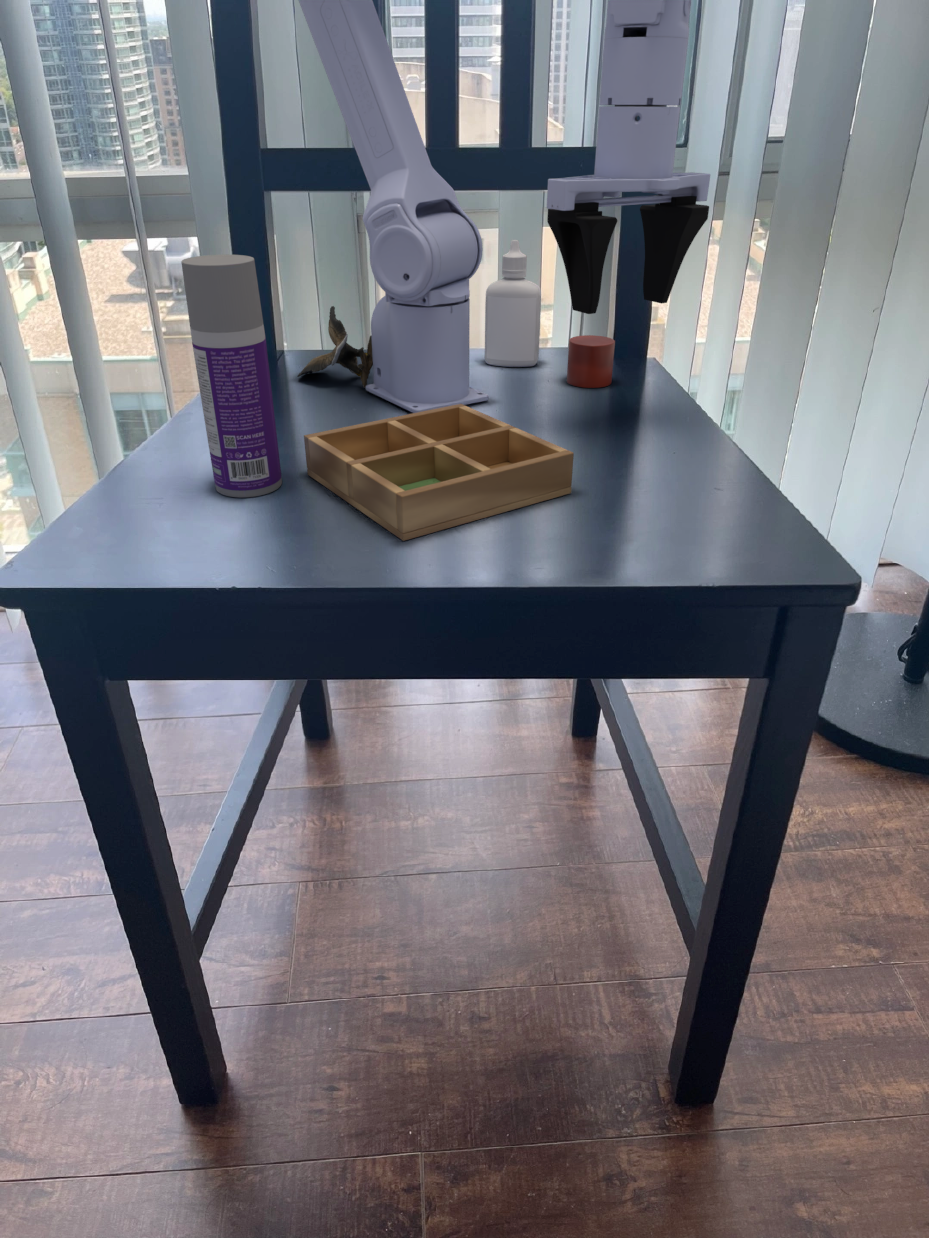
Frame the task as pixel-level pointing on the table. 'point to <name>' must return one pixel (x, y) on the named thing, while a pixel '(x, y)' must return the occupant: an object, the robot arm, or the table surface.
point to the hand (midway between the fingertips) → (620, 306)
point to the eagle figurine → (342, 353)
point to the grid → (437, 468)
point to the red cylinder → (590, 361)
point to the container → (233, 373)
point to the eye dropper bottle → (512, 314)
